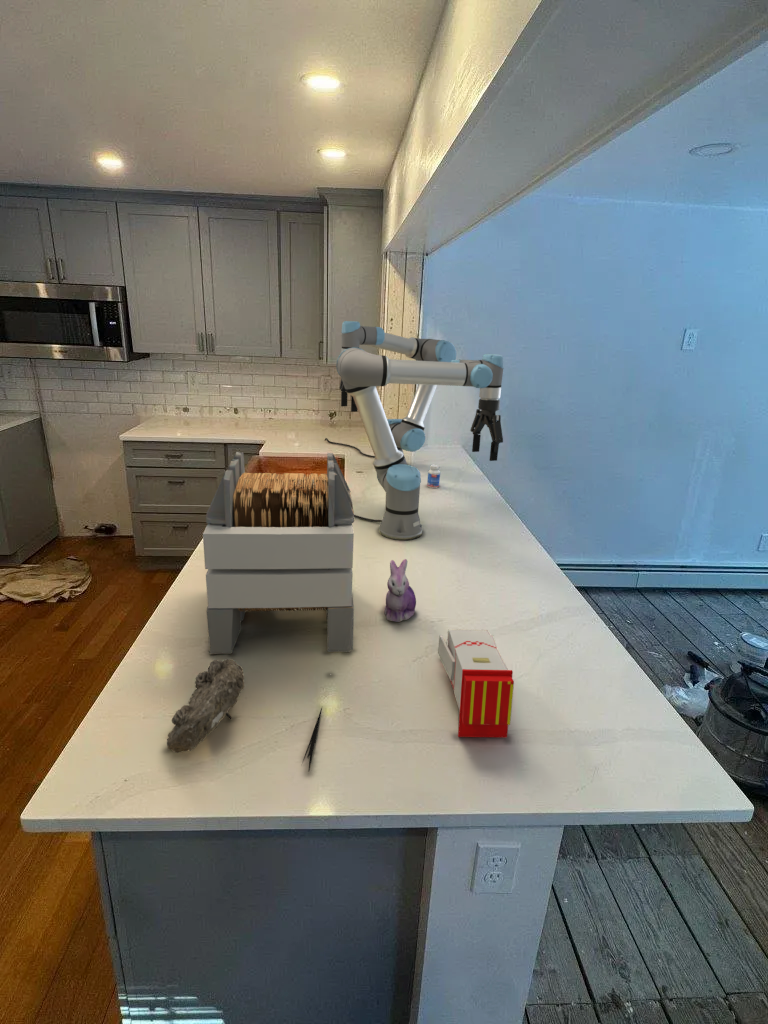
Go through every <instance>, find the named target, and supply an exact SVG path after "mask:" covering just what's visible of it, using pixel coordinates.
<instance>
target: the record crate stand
mask: <svg viewBox="0 0 768 1024" xmlns="http://www.w3.org/2000/svg"><path fill="white" fill-rule="evenodd" d="M244 455H245V454H244V451H242V452H241V451H236V452H235V454H234V456H233V458H232V459H230V463H229V465H228V467H227V469H226V470H224V473H223V475H222V478H221V479H220V482H219V484H218V487H217V489H216V491H215V494H214V495H213V497H212V500H211V502H210V505H209V507H208V509H207V511H206V515H205V523H206V524H207V525H206V527H205V529H204V531H203V533H202V543H203V558H204V569H205V570H206V573H205V584H206V587H205V588H206V598H207V599H206V601H207V607H206V623H207V634H208V641H209V642H208V643H209V650H208V653H209V655H216V654H217V655H218V654H221V655H222V654H223V655H226V654H227V655H228V654H230V655H231V654H232V653H233V650H234V648H235V647H236V643H237V641H238V638H239V636H240V634H241V630H242V626H241V625H242V623H241V622H243V621H244V618H245V615H246V612H272V611H273V612H279V611H280V612H284V611H286V612H288V611H289V612H291V611H292V612H293V611H294V612H295V611H303V612H304V611H322V610H323V611H326V636H327V637H326V641H327V645H326V646H327V652H329V653H330V652H332V653H333V652H343V653H349V652H351V651H352V650H354V617H355V616H354V614H355V607H354V598H353V575H354V573H353V566H354V563H353V562H354V537H355V536H354V535H355V532H354V527H353V524H354V522H355V517H354V515H355V511H354V506H353V505H354V504H353V500H352V495H351V489H350V487H349V485H348V483H347V480H346V479H345V476H344V474H343V472H342V470H341V467H340V465H339V463H338V461H337V459H336V457H335V455H334V453H333V452H327V453H326V456H327V457H326V468H327V469H326V473H320V474H318V473H307V474H306V473H303V472H302V473H299V472H298V473H297V472H294V473H293V472H292V473H291V472H290V473H288V472H283V473H276V472H273V473H271V472H263V473H262V472H259V473H258V472H253V473H252V472H245V468H246V467H245V456H244Z"/></svg>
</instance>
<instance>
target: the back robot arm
mask: <svg viewBox="0 0 768 1024" xmlns="http://www.w3.org/2000/svg"><path fill="white" fill-rule="evenodd" d="M341 324H342V325H341V332H340V333H341V349H340V350H341V351H340V354H341V353H342V352H343V351H344V350H346V349H348V348H352V347H357V348H360V346H366V347H367V346H368V347H372V348H375V349H380V350H385V351H388V352H393V353H397V354H400V355H405V357H406V358H409V359H411V360H416V361H436V362H451V361H452V360H457V349H456V346H455V345H454V343H452V342H451V341H449V340H445V339H434V338H418V337H413V336H411V337H409V338H408V337H404V336H401V335H396V334H392V333H389V332H385V330H384V329H383V328H382V327H381V326H369V325H368V326H367V325H361V322H360V321H356V320H355V321H353V320H343V322H342V323H341ZM437 387H438V385H422V384H417V387H416V390H415V393H414V394H413V398H412V400H411V404H410V406H409V408H408V412H407V414H406V415H405V417H402V418H387V421H388V424H389V426H390V429H391V432H392V435H393V438H394V441H395V444H396V446H397V449H398V450H399V451H401V452H403V453H404V451H406V452H409V453H414V452H417V451H419V450H420V449H421V448H423V446H424V445H425V442H426V433H425V432H424V431H425V428H426V427H425V424H424V422H425V419H426V416H427V414H428V411H429V409H430V406H431V403H432V400H433V398H434V396H435V393H436V390H437ZM339 390H340V407H348V395H349V394H347V392H346V389H345V387H344V384H343V381H342V379H341V378H340V383H339ZM350 412H351V413H355V412H358V409H357V406H356V404H355V401H354V398H353V396H351V395H350ZM324 441H326V442H327V443H329V444H334V445H339V446H345V447H348V448H349V447H350V448H353V449H355V450H356V451H358V452H359V454H360V455H362V456H365V457H369V458H374V459H375V455H371V454H367V453H364V452H362V451H361V449H360V448H358V447H357V446H353V445H351V444H347V443H342V442H335V441H331V440H329V438H327V437H325V438H324Z"/></svg>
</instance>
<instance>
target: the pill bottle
mask: <svg viewBox="0 0 768 1024" xmlns="http://www.w3.org/2000/svg"><path fill="white" fill-rule="evenodd" d="M440 479H441V470H440V465H439V464H430V466H429V470H428V471H427V482H426V486H427V487H428V488H429V489H438V488H439V487H440Z"/></svg>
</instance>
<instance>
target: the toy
mask: <svg viewBox="0 0 768 1024" xmlns="http://www.w3.org/2000/svg"><path fill="white" fill-rule="evenodd" d="M446 640H447V643H446V641H445V639H444V636H443V635H442V634H439V637H438V646H437V656H438V657H439V659H440V661H441V663H442V666H443V668H444V670H445V672H446V674H447V677H448V679H449V681H450V684H451V687H452V690H453V693H454V697H455V701H456V705H457V708H458V711H459V714H458V715H459V716H458V730H457V731H458V732H457V737H458V738H508V731H509V726H510V725H511V717H512V707H513V697H514V696H513V695H514V684H515V680H514V679H513V673H514V671H513V670H512V669H508V667H507V665H506V662H505V661H504V659H503V658H502V655H501V653H500V651H499V649H498V647H497V643H496V639H495V637H494V635H493V634H491V632H490V631H489V629H467V628H466V629H465V628H463V629H461V628H460V629H459V628H448V630H447V639H446Z"/></svg>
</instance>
